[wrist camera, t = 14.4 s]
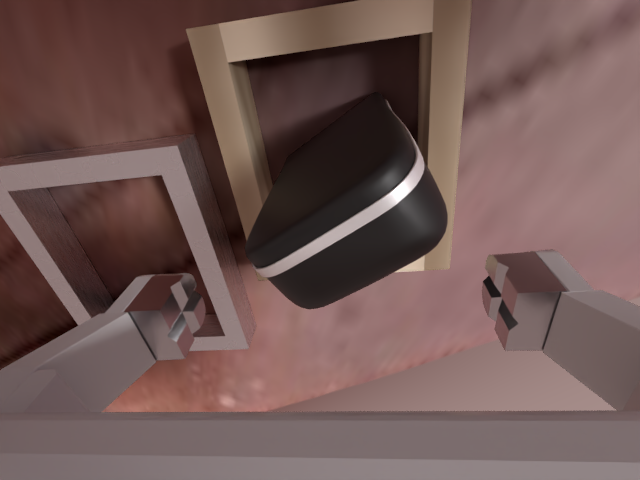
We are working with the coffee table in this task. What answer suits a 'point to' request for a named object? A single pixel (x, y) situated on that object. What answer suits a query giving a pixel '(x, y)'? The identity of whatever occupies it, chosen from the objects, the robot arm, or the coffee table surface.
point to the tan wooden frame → (323, 32)
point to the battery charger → (347, 209)
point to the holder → (113, 164)
